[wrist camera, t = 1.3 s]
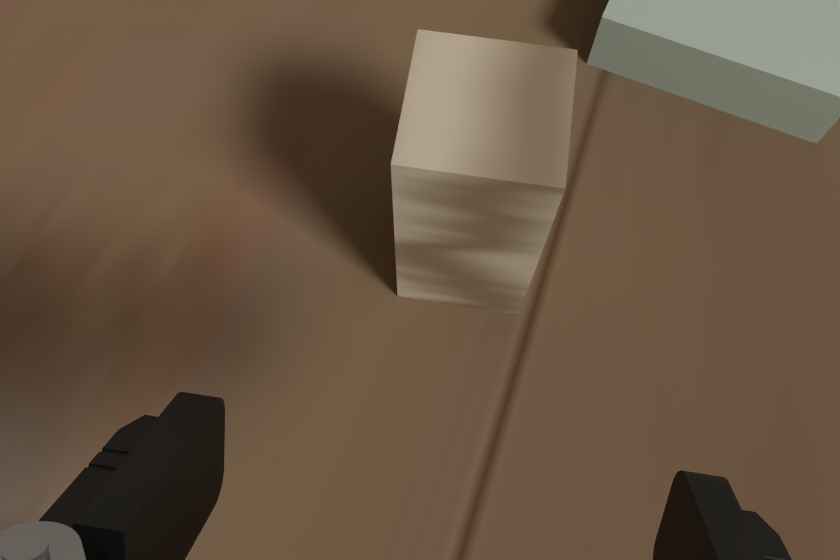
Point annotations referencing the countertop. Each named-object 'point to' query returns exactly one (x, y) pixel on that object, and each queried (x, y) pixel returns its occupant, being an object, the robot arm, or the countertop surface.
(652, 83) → the base slab
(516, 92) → the maple block
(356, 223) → the countertop surface
